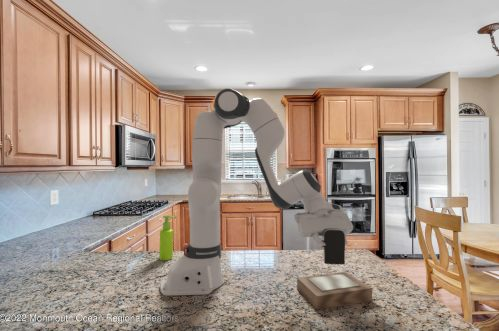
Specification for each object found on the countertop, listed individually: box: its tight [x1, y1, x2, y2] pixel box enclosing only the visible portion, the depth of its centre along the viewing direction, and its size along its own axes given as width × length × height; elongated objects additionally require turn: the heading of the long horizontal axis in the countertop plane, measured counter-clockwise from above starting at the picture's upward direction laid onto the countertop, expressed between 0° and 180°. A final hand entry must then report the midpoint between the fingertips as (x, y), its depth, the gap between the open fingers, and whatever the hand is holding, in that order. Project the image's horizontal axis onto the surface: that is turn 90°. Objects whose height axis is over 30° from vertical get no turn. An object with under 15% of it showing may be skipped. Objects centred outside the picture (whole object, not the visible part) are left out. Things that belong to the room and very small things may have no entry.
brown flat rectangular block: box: [296, 271, 373, 310], centre depth 81 cm, size 20×13×4 cm, turn 106°
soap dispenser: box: [158, 215, 176, 261], centre depth 114 cm, size 6×7×20 cm
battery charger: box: [321, 228, 346, 265], centre depth 81 cm, size 7×4×11 cm, turn 87°
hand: (334, 245), depth 81 cm, fingers closed on battery charger, 7 cm apart
